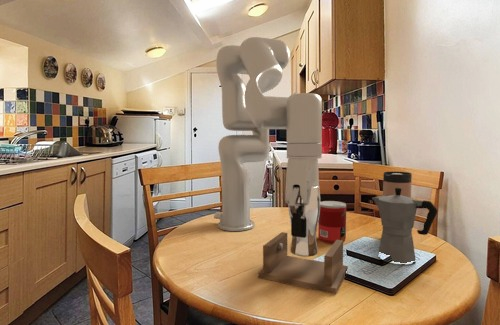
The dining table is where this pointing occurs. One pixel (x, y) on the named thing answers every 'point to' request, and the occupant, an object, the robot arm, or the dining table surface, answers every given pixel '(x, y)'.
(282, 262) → the holder
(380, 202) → the coffeepot
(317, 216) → the beer glass
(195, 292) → the dining table surface
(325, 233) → the canned food
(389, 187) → the travel mug
